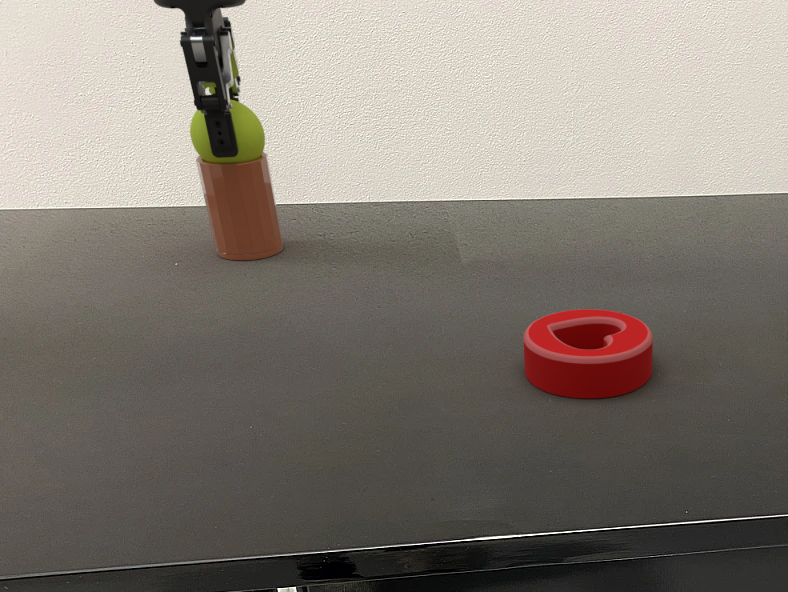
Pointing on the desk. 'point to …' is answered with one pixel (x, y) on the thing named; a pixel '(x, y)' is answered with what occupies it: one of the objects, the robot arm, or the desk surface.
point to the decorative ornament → (588, 353)
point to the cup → (241, 208)
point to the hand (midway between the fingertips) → (230, 147)
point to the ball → (245, 130)
